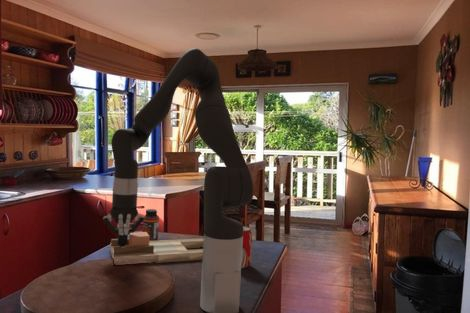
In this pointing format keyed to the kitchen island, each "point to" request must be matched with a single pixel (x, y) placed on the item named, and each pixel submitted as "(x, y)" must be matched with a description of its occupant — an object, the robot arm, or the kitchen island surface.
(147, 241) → the block
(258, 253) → the kitchen island surface
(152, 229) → the supplement bottle
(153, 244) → the wooden fixture board
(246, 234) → the soda can
